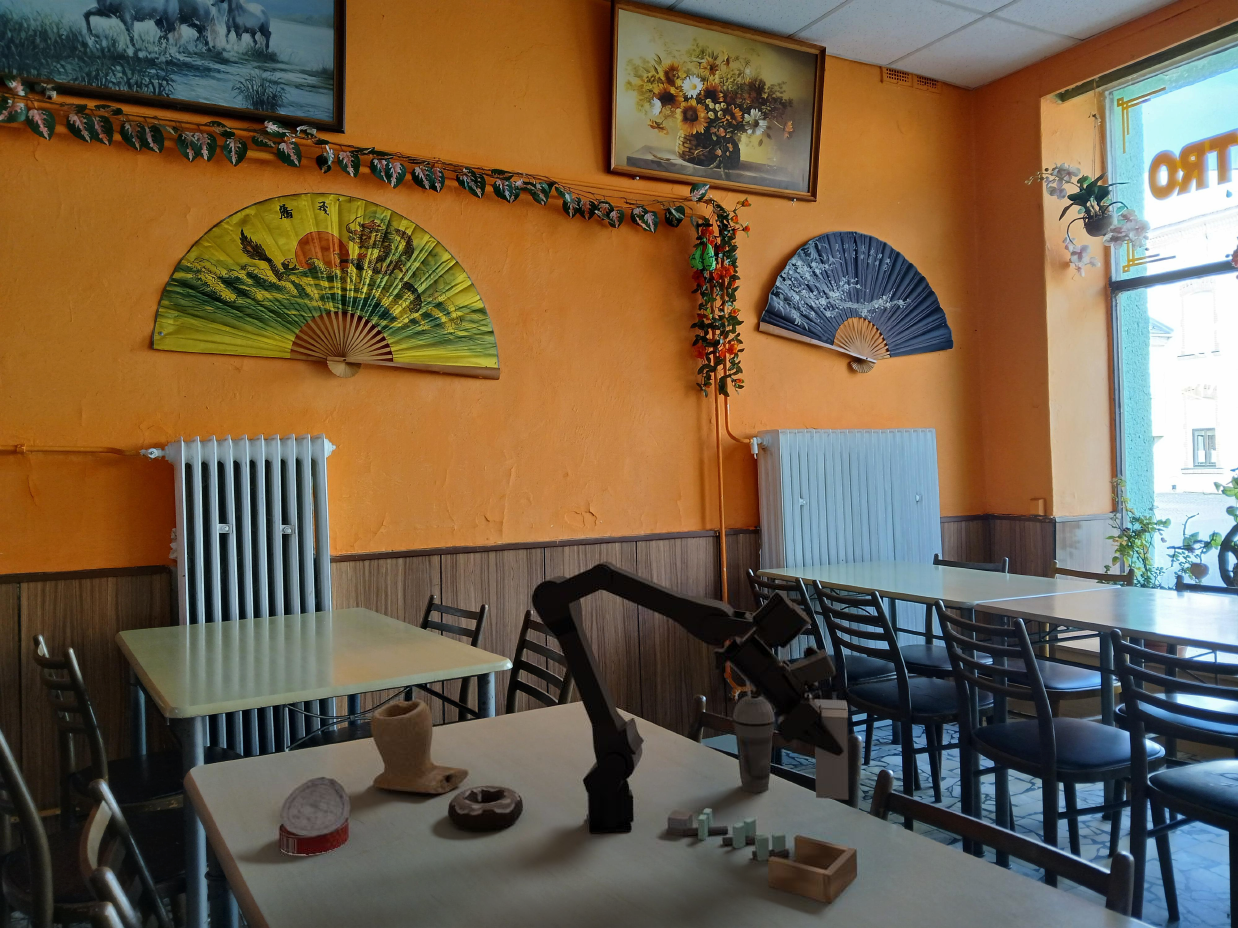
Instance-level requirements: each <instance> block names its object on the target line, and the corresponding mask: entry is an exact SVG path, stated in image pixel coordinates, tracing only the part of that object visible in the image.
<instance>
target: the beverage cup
mask: <svg viewBox="0 0 1238 928" xmlns="http://www.w3.org/2000/svg"><path fill="white" fill-rule="evenodd" d="M745 685H746V694H747V696H744V697H743V698H741V699H740V700H739V701H738V702H737V704H736V705H735V707H734V709H733V716H732V722H733V728H734V729H733V730H734V733H735V739H736V748H737V758H738V767H739V776H740V782H741V789H742V790H743V791H746V792H747V793H748V792H749V793H763V792H766V791H768V790H769V784H770V779H771V777H770V776H771V761H772V748H773V734H774V730H775V722H776V719H775V714H774V709H773V707H772V706H771V705H770V704H769V703H768V702H767V701H766V700H765V699H764V698H763V697H762V696H761V695H760V696H759V697H758V696H757V695H756V694H751V688H750V687H751V685H750V684H749V683H748V682H747V681H746V680H745Z"/></svg>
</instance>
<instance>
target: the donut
mask: <svg viewBox="0 0 1238 928" xmlns="http://www.w3.org/2000/svg"><path fill="white" fill-rule="evenodd" d="M523 809H524V804H523V798H522V796H521V795H520V794H519V793H518V792H517V791H516V790H514V789H511V788H510V787H506V786H503V785H495V784H494V785H480V786H479V785H478V786H474V787H473V786H472V787H470V788H467V789H464V790H462V791H460V792H459V793H457V794H455V796H453V798H452V799H451V800H450V801H449V803H448V808H447V815H448V818H449V820H450V821H451V823H452V824H453V825H454V826H455V827H457V828H459V829H462V830H465V831H468V830H469V831H468V832H477V831H478V832H490V830H492V831H496V829H497V830H500V828H501V829H504V828H506V827H509V826H511V825H513V824H514V823H515V822H517V820H518V819H519V818H520V817H521V815H522V814H523V811H524V810H523Z"/></svg>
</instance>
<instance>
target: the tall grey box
mask: <svg viewBox="0 0 1238 928" xmlns="http://www.w3.org/2000/svg"><path fill="white" fill-rule="evenodd" d="M814 702H815V703H816V704H817V706H818V707H819V706H820V705H821V708H822V721H823V722H824V724H825V725H826V726H827V728H828V729H829V731H830V732H831V733H832V735H833V736H834V737H835V739H836V740H837V742H838V743H839V744H840V746H841V747H842V749H843V753H842V754H841V755H840V756H837V755H834V754H832V753H830V752H827V751H825V750H822V749H820V748H817V747H815V746H814V748H815V749H814V750H815V751H814V754H815V756H814V757H815V758H814V760H815V798H816V799H829V800H830V799H832V800H849V761H848V759H849V758H848V757H849V755H848V754H849V752H848V751H849V750H848V746H849V745H848V718H849V716H848V715H849V712H848V704H847V701H846V700H844V699H843V700H840V699H821V700H819V699H814Z"/></svg>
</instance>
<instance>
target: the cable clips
mask: <svg viewBox="0 0 1238 928" xmlns="http://www.w3.org/2000/svg"><path fill="white" fill-rule="evenodd" d="M712 826H713V809H712V808H706V807H705V808H704V810H703V811H702V814H700V815H699V817H698V818H697V827H698V835H697V837H698V839H697V840H702V841H703V840H704V841H705V840H706V839H707V837H708V836H709V834H708V827H712ZM752 835H757V820H756V818H754V817H748V818H746V819H745V820H743V823H741V822H738V823H735V824H733V825H732V837H733V844H732V847H733V848H735V849H738V850H739V849H741V848H743V847H744V846H746V843H745V836H752ZM759 835H760V836H755V843H754V847H755V848H754V851H756V852H757V858H755V859H756V860H757V861H766V860H769V850H770V846H769V845H770V843H769V842H770V841H769V840H770V838H769V836H768V835H767V834H759ZM786 839H787V838H786V834H785V833H784V832H782V831H781V832H774V833H771V850H772V849H774V850H775V852H778V851H781V850H785V849H787V848H786V847H787V844H786V841H787V840H786ZM777 858H780V857H777Z"/></svg>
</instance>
